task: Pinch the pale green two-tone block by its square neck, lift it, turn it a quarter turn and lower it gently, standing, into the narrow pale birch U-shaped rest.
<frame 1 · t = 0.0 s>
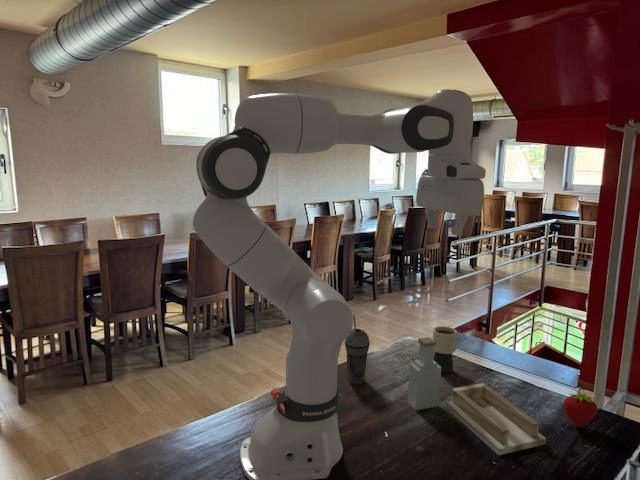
hand: (444, 231, 98), 48 cm above the table, tool pointing down, fingers open, 8 cm apart
character mug: (442, 370, 136), on the table
u rest: (492, 424, 108), on the table
pale green two-tone block: (422, 404, 117), on the table
beverage cup: (355, 380, 129), on the table
strawberry: (577, 427, 108), on the table
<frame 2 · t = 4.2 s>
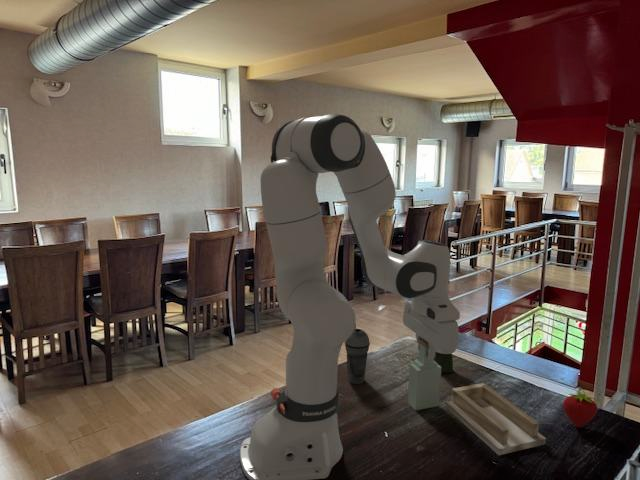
hand: (426, 354, 114), 14 cm above the table, tool pointing down, fingers closed on pale green two-tone block, 3 cm apart
pale green two-tone block: (422, 404, 117), on the table, touching gripper
everything else where it was.
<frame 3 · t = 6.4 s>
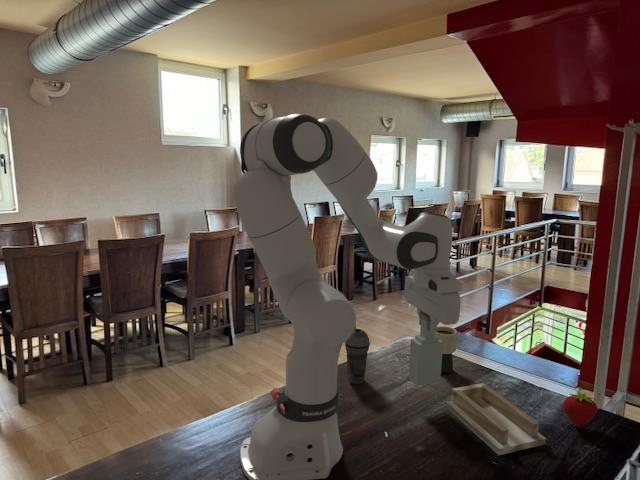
hand: (427, 328, 113), 21 cm above the table, tool pointing down, fingers closed on pale green two-tone block, 3 cm apart
pale green two-tone block: (424, 379, 115), point 7 cm above the table, touching gripper
everything else where it was.
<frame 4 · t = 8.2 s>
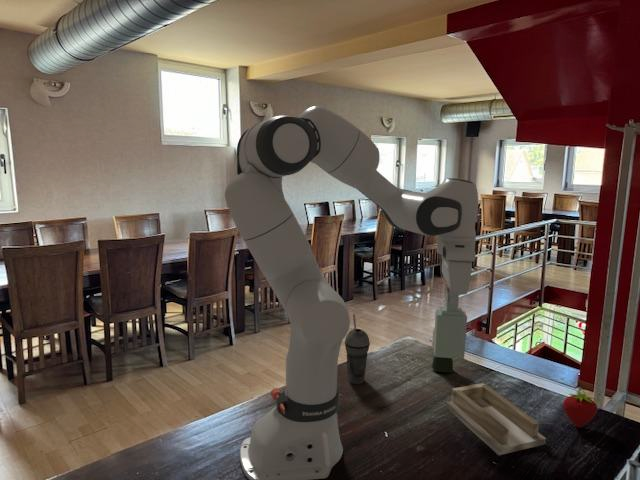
hand: (451, 301, 109), 29 cm above the table, tool pointing down, fingers closed on pale green two-tone block, 3 cm apart
pale green two-tone block: (448, 354, 111), point 15 cm above the table, touching gripper
everything else where it was.
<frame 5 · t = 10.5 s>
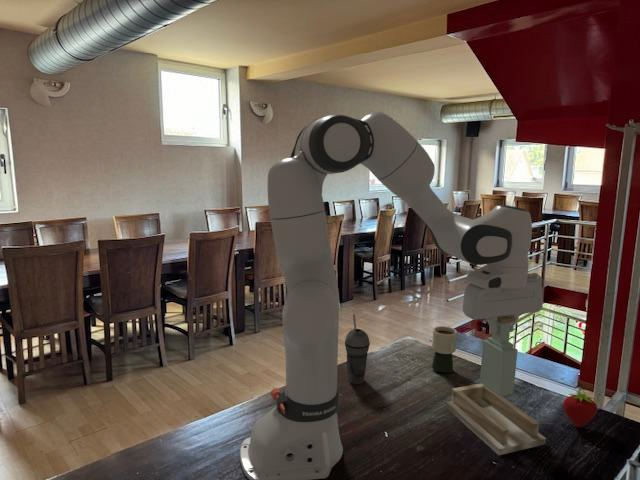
hand: (501, 332, 104), 24 cm above the table, tool pointing down, fingers closed on pale green two-tone block, 3 cm apart
pale green two-tone block: (496, 387, 106), point 10 cm above the table, touching gripper
everything else where it was.
when the fingers open (17 cm above the table, at t = 12.6 s): pale green two-tone block drops 1 cm, resting on u rest.
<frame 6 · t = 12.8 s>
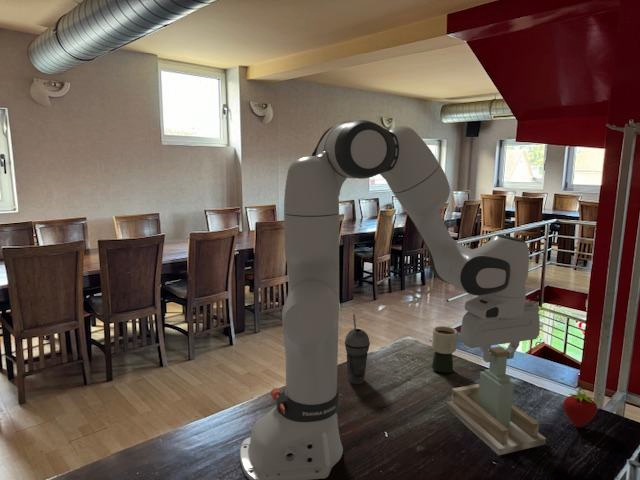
hand: (498, 359, 105), 17 cm above the table, tool pointing down, fingers open, 5 cm apart
pale green two-tone block: (492, 418, 108), point 1 cm above the table, touching u rest
everything else where it was.
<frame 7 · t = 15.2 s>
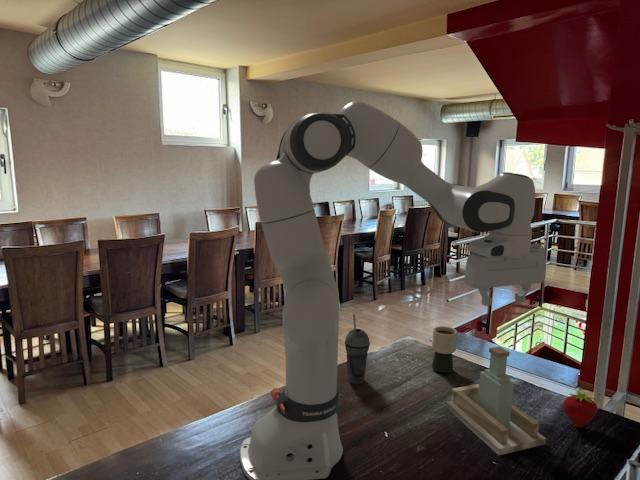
hand: (503, 303, 103), 31 cm above the table, tool pointing down, fingers open, 8 cm apart
nothing on the table moved.
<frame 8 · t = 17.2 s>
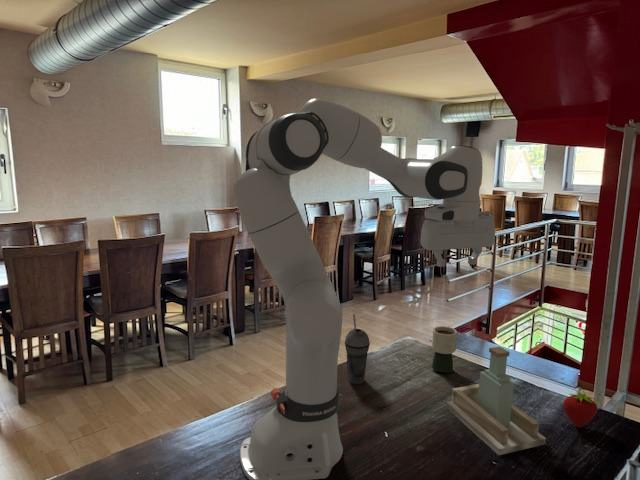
hand: (456, 265, 113), 37 cm above the table, tool pointing down, fingers open, 8 cm apart
nothing on the table moved.
at the end: pale green two-tone block inside the target area on the u rest (0.0 cm from its centre), point 1.5 cm above the u rest's base; pale green two-tone block tilted 0°; the gripper is holding nothing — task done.
